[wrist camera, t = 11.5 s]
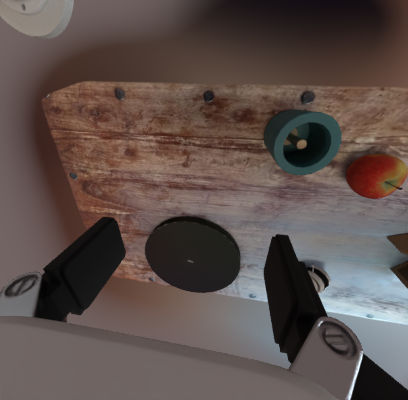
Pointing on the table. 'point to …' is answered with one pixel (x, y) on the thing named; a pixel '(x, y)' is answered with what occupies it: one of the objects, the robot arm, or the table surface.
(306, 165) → the jar
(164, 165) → the table surface
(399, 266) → the photo frame
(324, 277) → the headphones
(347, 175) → the apple
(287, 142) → the rod on round base
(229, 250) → the disc
